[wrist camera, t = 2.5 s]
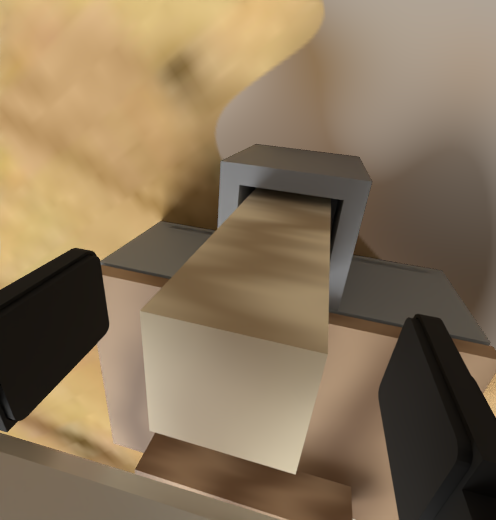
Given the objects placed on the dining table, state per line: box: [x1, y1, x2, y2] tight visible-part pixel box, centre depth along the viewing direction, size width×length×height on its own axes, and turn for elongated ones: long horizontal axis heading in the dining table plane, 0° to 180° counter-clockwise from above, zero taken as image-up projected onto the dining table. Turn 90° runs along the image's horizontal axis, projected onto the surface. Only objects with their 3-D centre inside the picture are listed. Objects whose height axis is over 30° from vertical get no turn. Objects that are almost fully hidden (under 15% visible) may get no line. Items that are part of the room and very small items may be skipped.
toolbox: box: [100, 144, 490, 346], centre depth 23 cm, size 22×23×8 cm
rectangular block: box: [140, 187, 331, 475], centre depth 14 cm, size 4×4×14 cm
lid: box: [97, 265, 496, 520], centre depth 19 cm, size 22×16×4 cm
